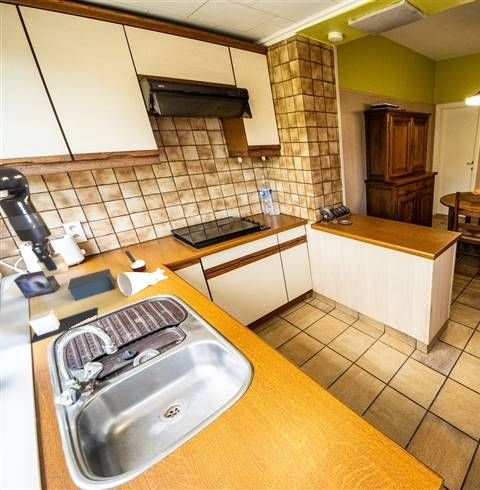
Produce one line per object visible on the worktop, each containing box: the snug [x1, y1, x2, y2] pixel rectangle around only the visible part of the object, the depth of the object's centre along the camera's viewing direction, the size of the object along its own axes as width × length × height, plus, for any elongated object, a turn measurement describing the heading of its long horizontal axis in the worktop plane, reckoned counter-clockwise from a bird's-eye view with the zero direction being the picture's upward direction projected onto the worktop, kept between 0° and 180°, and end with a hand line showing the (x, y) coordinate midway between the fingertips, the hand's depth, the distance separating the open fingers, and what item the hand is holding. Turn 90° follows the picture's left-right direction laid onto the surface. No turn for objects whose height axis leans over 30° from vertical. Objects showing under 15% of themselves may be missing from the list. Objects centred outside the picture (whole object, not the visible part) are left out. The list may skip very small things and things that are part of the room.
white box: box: [28, 309, 60, 336], centre depth 103 cm, size 6×5×6 cm
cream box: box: [36, 252, 69, 277], centre depth 101 cm, size 6×5×6 cm
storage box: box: [67, 268, 116, 302], centre depth 130 cm, size 14×12×7 cm
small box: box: [13, 270, 61, 299], centre depth 130 cm, size 11×6×10 cm, turn 118°
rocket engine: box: [116, 268, 169, 297], centre depth 132 cm, size 12×12×18 cm
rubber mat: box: [30, 307, 99, 344], centre depth 107 cm, size 18×12×1 cm, turn 132°
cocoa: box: [124, 250, 147, 273], centre depth 146 cm, size 10×6×12 cm, turn 44°
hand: (54, 267), depth 101 cm, fingers closed on cream box, 5 cm apart
